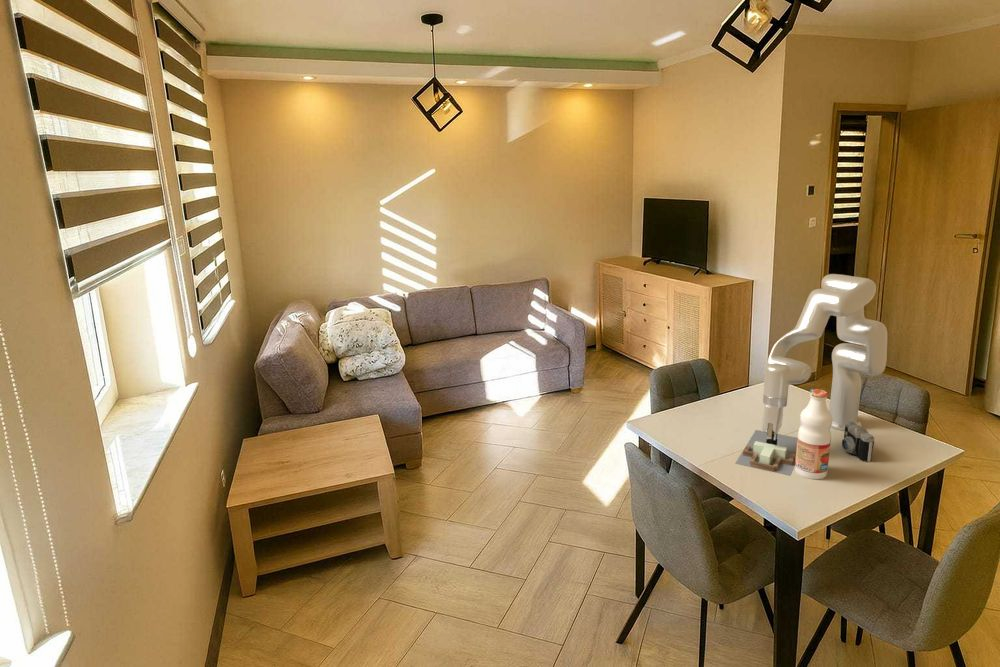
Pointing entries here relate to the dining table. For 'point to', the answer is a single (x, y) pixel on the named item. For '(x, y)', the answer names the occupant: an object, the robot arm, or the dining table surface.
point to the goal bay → (766, 466)
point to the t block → (769, 452)
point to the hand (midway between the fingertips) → (771, 449)
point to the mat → (783, 468)
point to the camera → (858, 441)
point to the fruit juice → (814, 438)
